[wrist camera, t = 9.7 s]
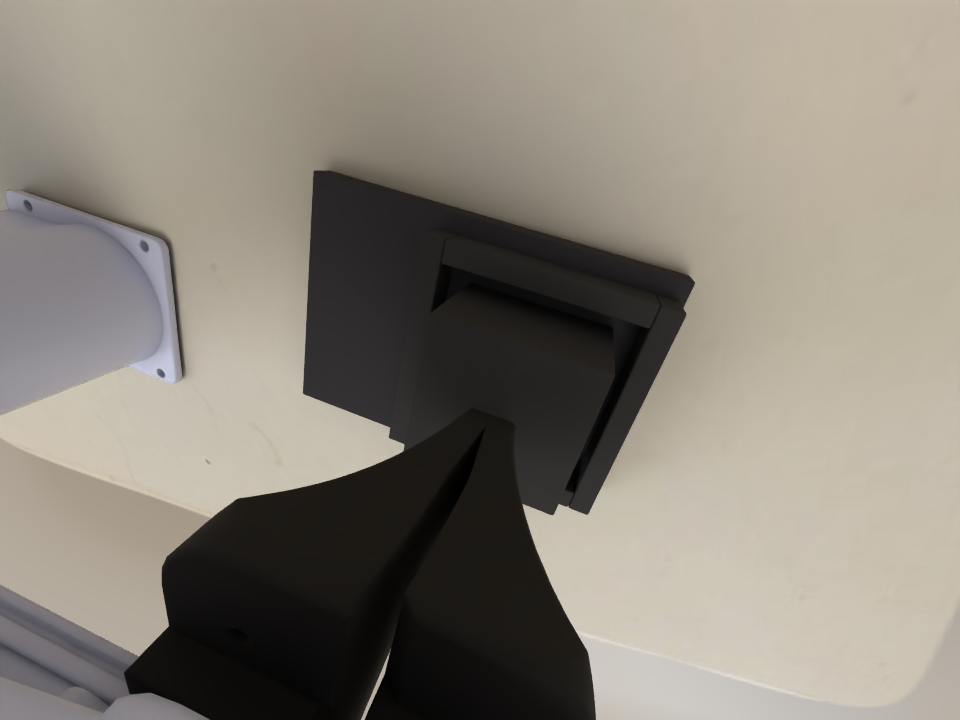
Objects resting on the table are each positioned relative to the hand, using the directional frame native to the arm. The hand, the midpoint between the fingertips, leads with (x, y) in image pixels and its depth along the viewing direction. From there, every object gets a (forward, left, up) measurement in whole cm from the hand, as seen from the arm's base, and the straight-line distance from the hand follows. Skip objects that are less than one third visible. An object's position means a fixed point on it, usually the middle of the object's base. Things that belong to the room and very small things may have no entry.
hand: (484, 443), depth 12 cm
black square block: (0, 0, -5) cm, 5 cm away
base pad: (-2, 0, -6) cm, 7 cm away
